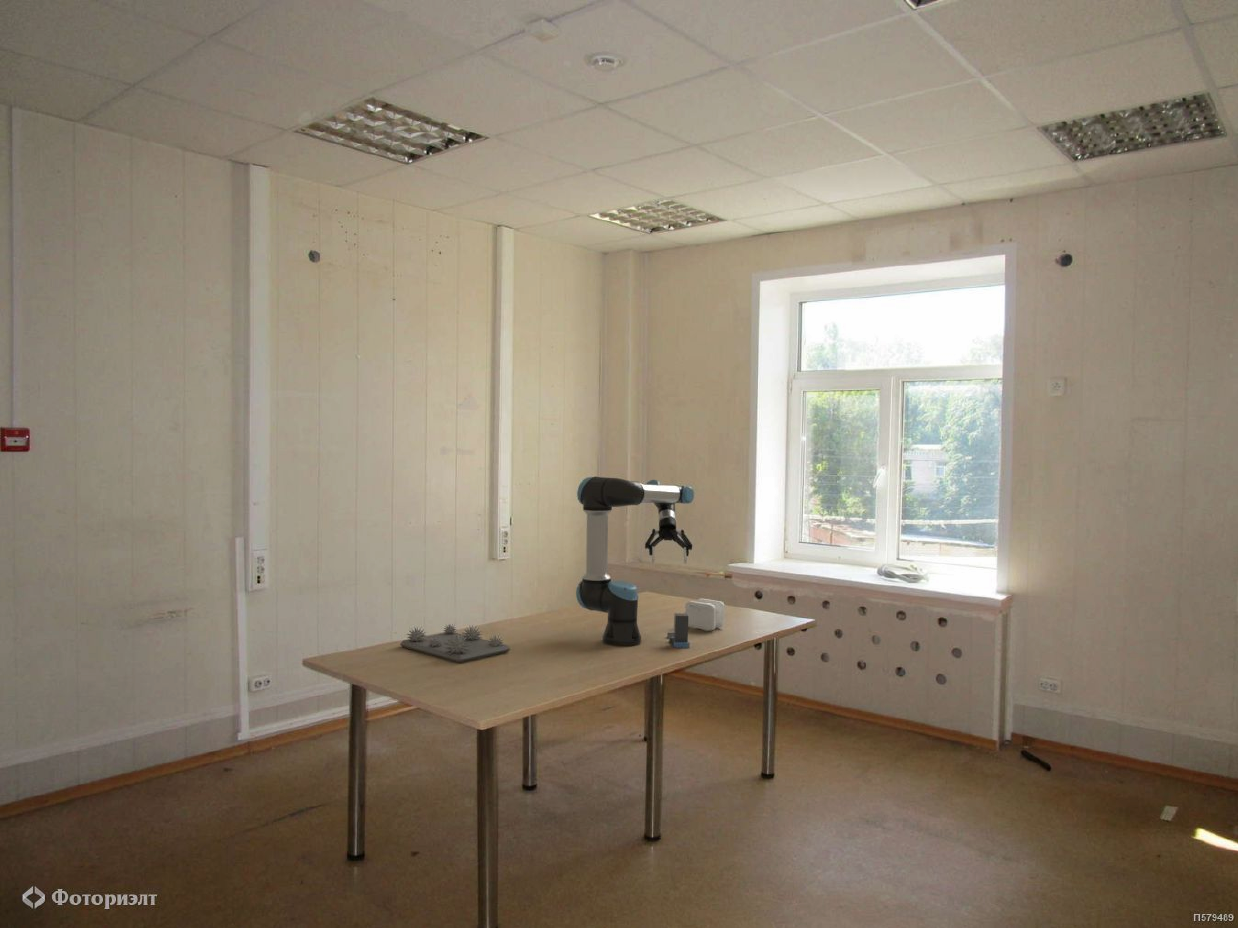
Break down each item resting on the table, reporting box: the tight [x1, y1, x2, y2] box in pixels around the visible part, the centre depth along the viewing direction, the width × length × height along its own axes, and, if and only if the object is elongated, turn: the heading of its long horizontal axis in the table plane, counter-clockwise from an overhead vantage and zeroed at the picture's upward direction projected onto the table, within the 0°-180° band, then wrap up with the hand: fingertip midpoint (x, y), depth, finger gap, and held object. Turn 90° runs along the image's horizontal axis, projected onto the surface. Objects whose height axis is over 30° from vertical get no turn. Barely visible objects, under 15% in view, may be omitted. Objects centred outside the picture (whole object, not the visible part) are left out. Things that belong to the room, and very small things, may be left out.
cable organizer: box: [684, 598, 726, 632], centre depth 358 cm, size 15×11×12 cm
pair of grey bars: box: [666, 631, 674, 643], centre depth 334 cm, size 6×9×2 cm
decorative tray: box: [399, 623, 511, 664], centre depth 306 cm, size 35×26×10 cm
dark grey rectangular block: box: [673, 613, 689, 642], centre depth 325 cm, size 5×5×12 cm
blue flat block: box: [671, 637, 691, 649], centre depth 325 cm, size 6×9×2 cm
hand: (669, 561), depth 349 cm, fingers open, 13 cm apart
